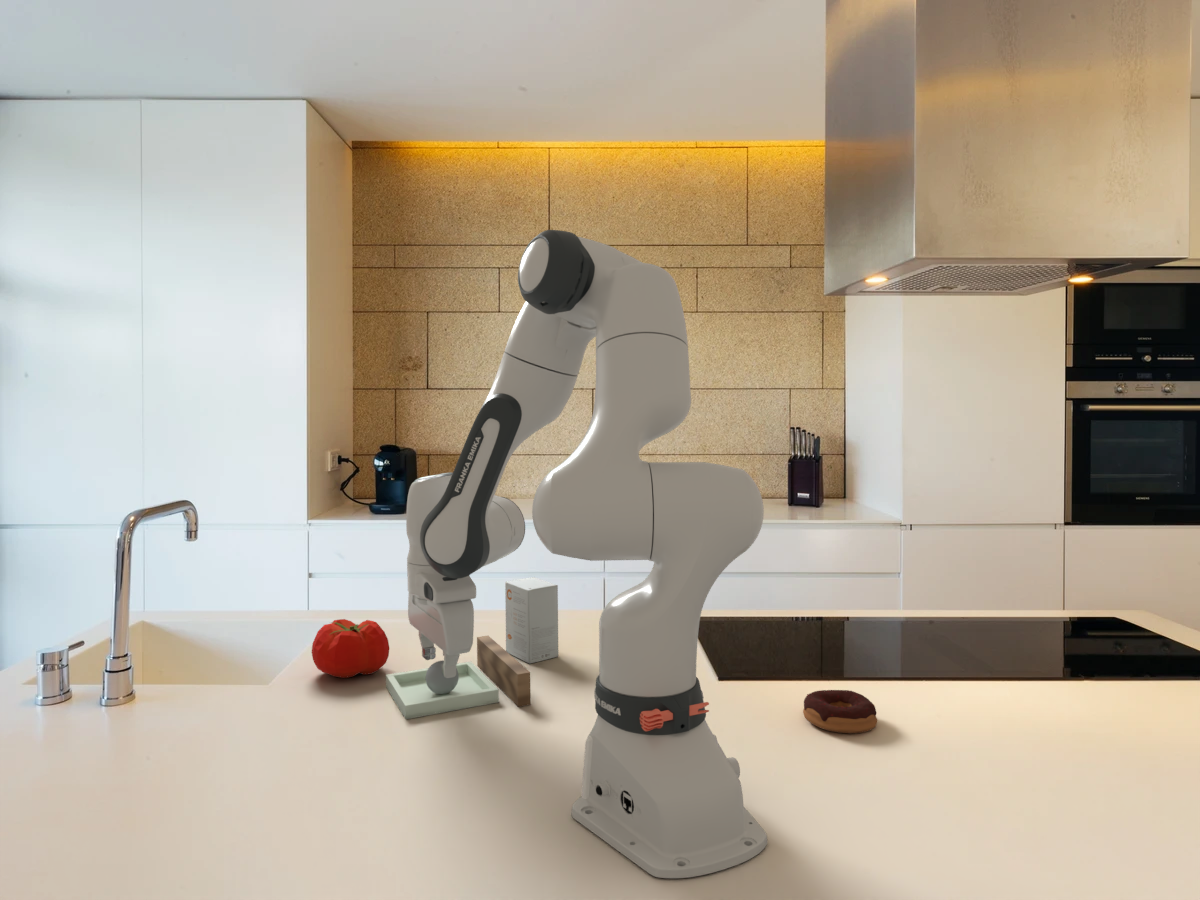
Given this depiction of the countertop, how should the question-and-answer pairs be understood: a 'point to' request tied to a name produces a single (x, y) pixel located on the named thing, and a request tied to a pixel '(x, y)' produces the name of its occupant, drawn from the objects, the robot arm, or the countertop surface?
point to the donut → (840, 711)
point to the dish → (422, 701)
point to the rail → (504, 670)
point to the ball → (440, 679)
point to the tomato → (350, 648)
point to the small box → (531, 619)
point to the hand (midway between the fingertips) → (438, 667)
